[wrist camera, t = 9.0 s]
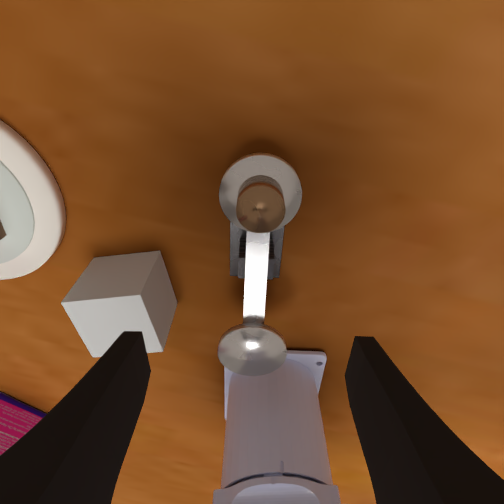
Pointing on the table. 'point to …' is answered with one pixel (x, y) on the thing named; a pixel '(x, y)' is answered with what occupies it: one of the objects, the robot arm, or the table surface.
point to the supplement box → (15, 420)
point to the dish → (27, 207)
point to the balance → (256, 254)
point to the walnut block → (2, 231)
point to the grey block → (122, 301)
